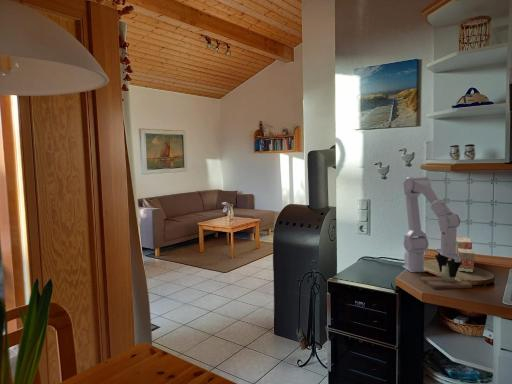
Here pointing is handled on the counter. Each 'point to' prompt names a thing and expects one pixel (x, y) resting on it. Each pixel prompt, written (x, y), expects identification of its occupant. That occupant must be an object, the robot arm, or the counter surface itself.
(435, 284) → the board
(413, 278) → the counter surface
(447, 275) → the cylinder
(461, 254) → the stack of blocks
